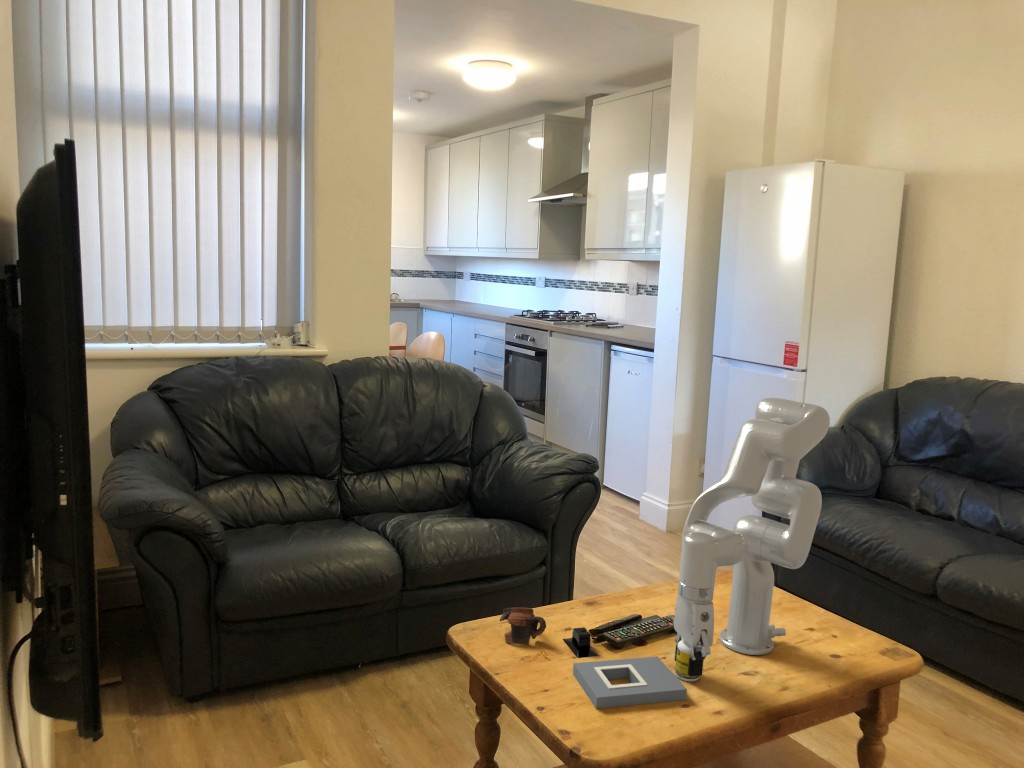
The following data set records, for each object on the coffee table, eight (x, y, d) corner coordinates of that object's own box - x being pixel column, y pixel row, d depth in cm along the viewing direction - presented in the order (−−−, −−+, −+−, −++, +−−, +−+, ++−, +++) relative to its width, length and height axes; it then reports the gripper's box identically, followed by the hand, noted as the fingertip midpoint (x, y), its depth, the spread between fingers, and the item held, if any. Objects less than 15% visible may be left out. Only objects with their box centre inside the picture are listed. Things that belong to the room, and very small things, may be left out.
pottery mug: (492, 643, 187) (493, 607, 190) (509, 646, 195) (510, 611, 198) (539, 643, 182) (539, 605, 185) (555, 645, 190) (555, 610, 193)
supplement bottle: (669, 671, 178) (673, 630, 176) (690, 668, 180) (694, 627, 178) (684, 684, 173) (688, 641, 171) (704, 680, 175) (709, 638, 173)
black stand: (605, 661, 182) (606, 642, 181) (575, 664, 180) (576, 645, 179) (584, 635, 194) (585, 618, 193) (556, 638, 191) (557, 620, 191)
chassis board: (656, 666, 180) (657, 655, 179) (685, 699, 166) (687, 688, 166) (572, 673, 174) (573, 662, 174) (596, 708, 161) (597, 696, 161)
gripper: (731, 606, 166) (723, 687, 169) (692, 574, 182) (685, 648, 185) (699, 608, 164) (691, 690, 167) (662, 575, 180) (655, 650, 183)
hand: (688, 667), depth 176 cm, fingers closed on supplement bottle, 5 cm apart
